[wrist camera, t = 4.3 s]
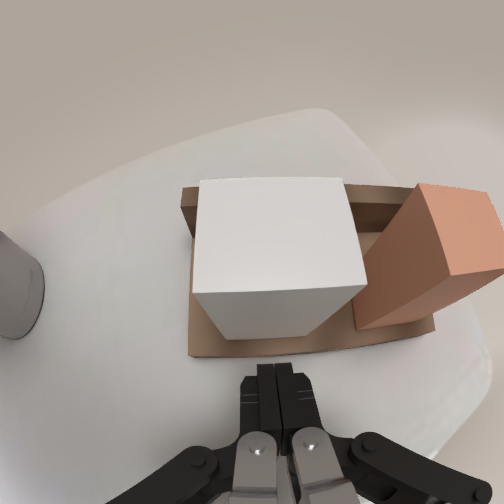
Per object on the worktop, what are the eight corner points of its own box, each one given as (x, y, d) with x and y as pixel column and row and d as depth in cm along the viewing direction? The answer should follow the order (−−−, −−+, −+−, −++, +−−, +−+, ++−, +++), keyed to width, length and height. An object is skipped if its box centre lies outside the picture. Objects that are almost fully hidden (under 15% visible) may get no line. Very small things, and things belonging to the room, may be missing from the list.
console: (194, 357, 18) (170, 349, 12) (198, 233, 22) (182, 187, 17) (421, 335, 18) (467, 317, 13) (397, 228, 22) (428, 189, 17)
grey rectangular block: (226, 339, 16) (192, 292, 7) (225, 280, 18) (200, 179, 9) (305, 335, 16) (367, 284, 7) (300, 277, 18) (341, 177, 9)
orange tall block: (356, 330, 16) (450, 275, 7) (348, 274, 18) (417, 183, 9) (416, 321, 16) (515, 266, 7) (405, 270, 18) (486, 192, 9)
